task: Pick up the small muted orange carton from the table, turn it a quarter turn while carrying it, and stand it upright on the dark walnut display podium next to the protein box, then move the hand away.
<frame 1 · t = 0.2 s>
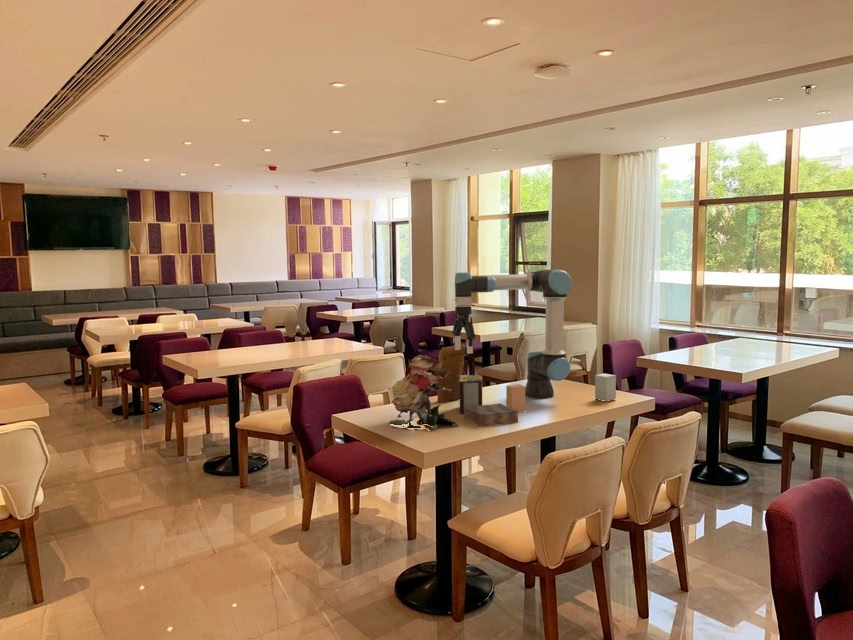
hand: (463, 351, 293), 28 cm above the table, tool pointing down, fingers open, 13 cm apart
carton: (515, 411, 291), on the table
supplement box: (605, 400, 312), on the table
display podium: (490, 420, 275), on the table
protein box: (471, 411, 294), on the table
rose bouquet: (419, 425, 270), on the table
pancake mix bag: (451, 400, 316), on the table
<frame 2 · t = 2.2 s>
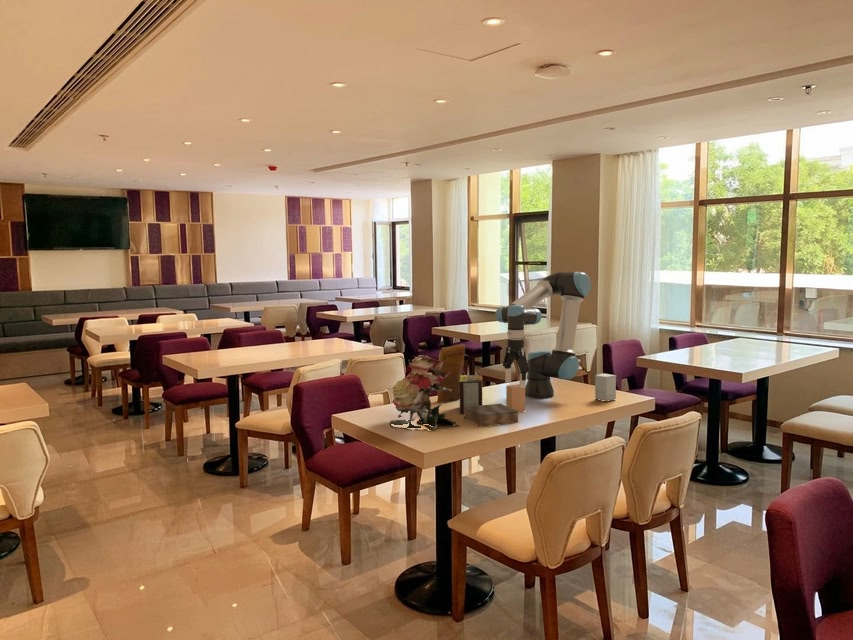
hand: (515, 384, 290), 12 cm above the table, tool pointing down, fingers open, 13 cm apart
nothing on the table moved.
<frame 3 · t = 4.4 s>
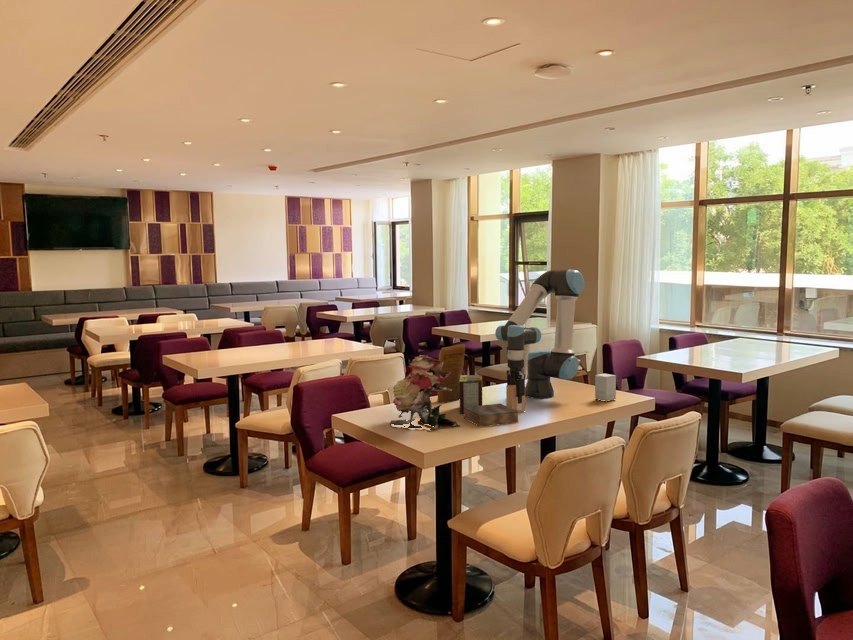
hand: (515, 408, 291), 1 cm above the table, tool pointing down, fingers closed on carton, 5 cm apart
carton: (515, 411, 291), on the table, touching gripper
everything else where it was.
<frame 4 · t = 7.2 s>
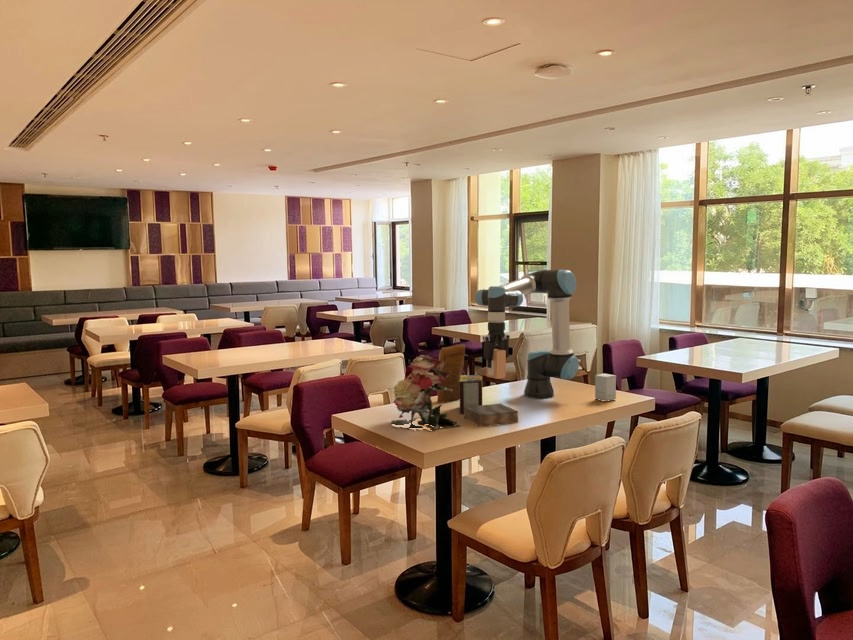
hand: (496, 374, 277), 20 cm above the table, tool pointing down, fingers closed on carton, 5 cm apart
carton: (495, 377, 277), point 18 cm above the table, touching gripper
everything else where it was.
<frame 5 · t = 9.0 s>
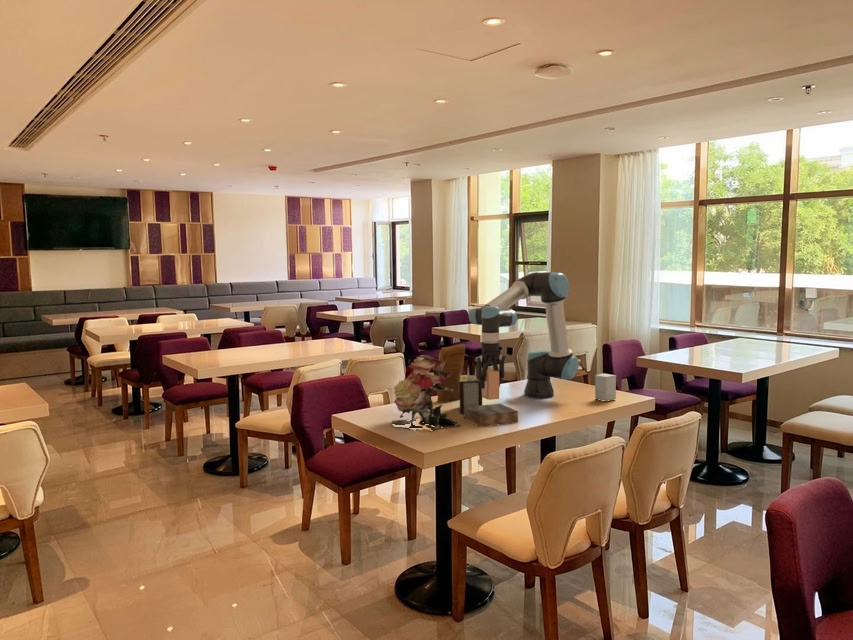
hand: (490, 395, 274), 11 cm above the table, tool pointing down, fingers closed on carton, 5 cm apart
carton: (490, 397, 274), point 10 cm above the table, touching gripper
everything else where it was.
when the fingers open (8 cm above the table, at t = 10.3 s): carton drops 1 cm, resting on display podium.
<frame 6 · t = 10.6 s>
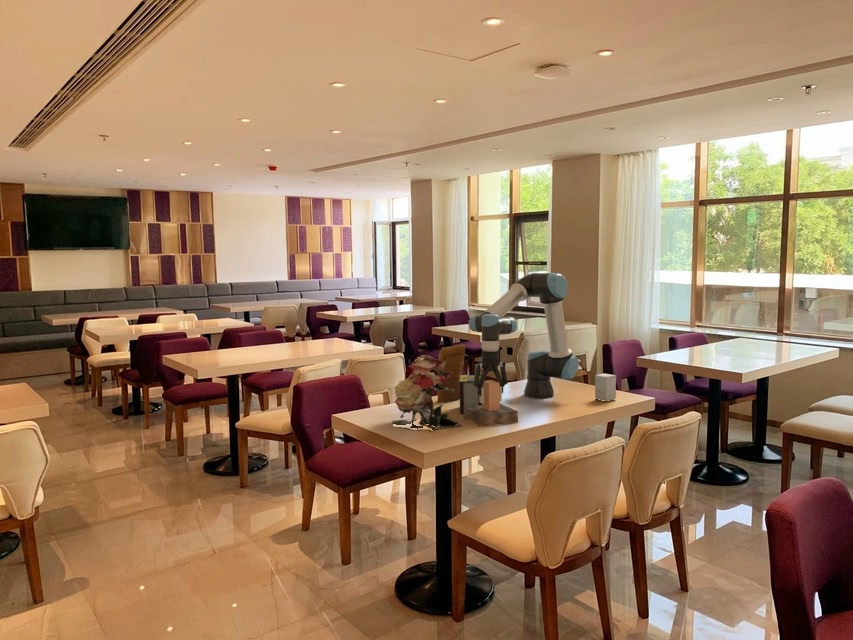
hand: (490, 401, 274), 8 cm above the table, tool pointing down, fingers open, 8 cm apart
carton: (490, 409, 275), point 5 cm above the table, touching display podium
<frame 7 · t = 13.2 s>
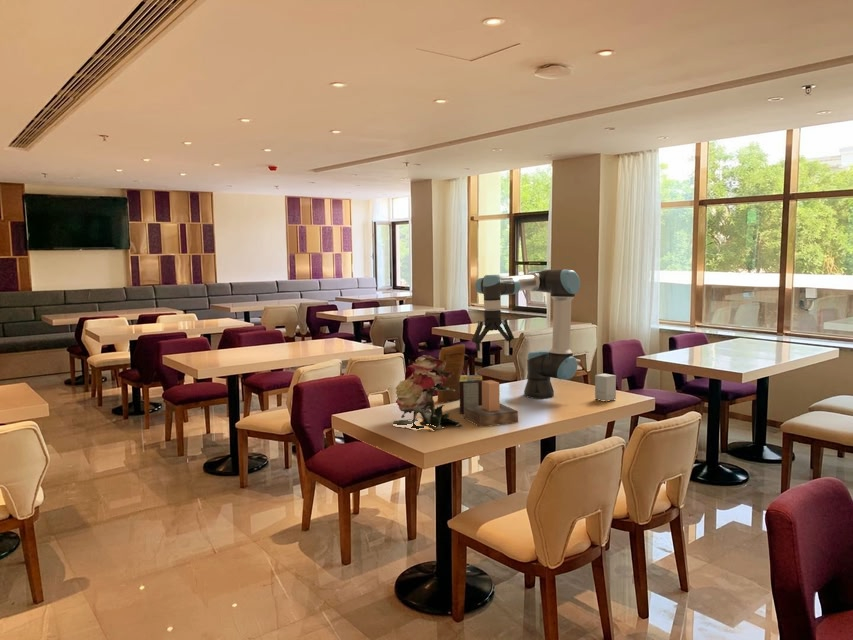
hand: (493, 356, 283), 26 cm above the table, tool pointing down, fingers open, 13 cm apart
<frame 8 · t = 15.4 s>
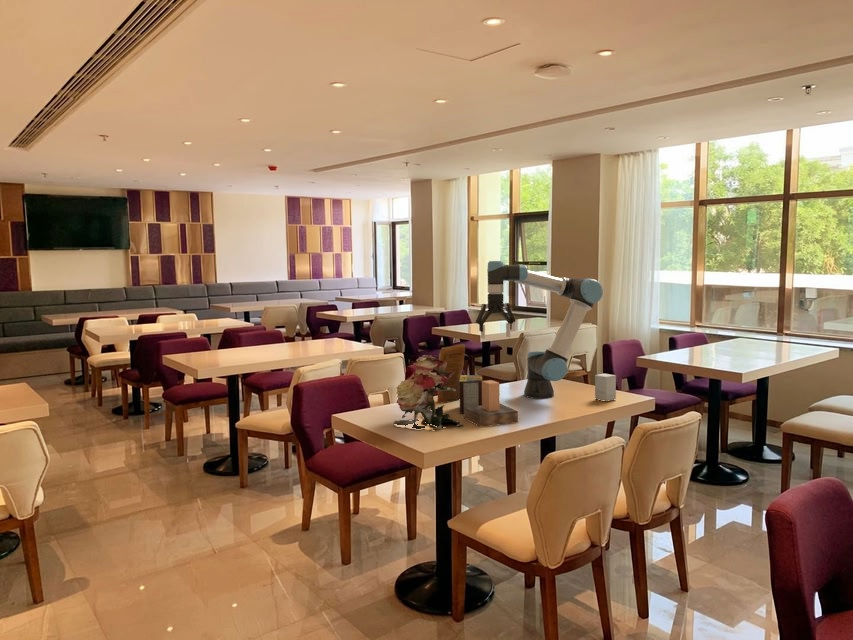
hand: (495, 337, 302), 33 cm above the table, tool pointing down, fingers open, 13 cm apart
at the end: carton inside the target area on the display podium (0.0 cm from its centre), point 5.0 cm above the display podium's base; carton tilted 0°; carton touching display podium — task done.
